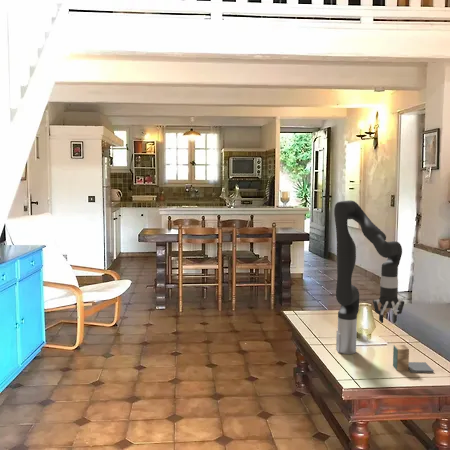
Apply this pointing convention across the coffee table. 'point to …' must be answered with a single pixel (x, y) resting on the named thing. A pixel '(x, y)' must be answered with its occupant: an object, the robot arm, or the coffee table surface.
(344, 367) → the coffee table surface
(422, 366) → the rubber pad
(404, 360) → the oak block
